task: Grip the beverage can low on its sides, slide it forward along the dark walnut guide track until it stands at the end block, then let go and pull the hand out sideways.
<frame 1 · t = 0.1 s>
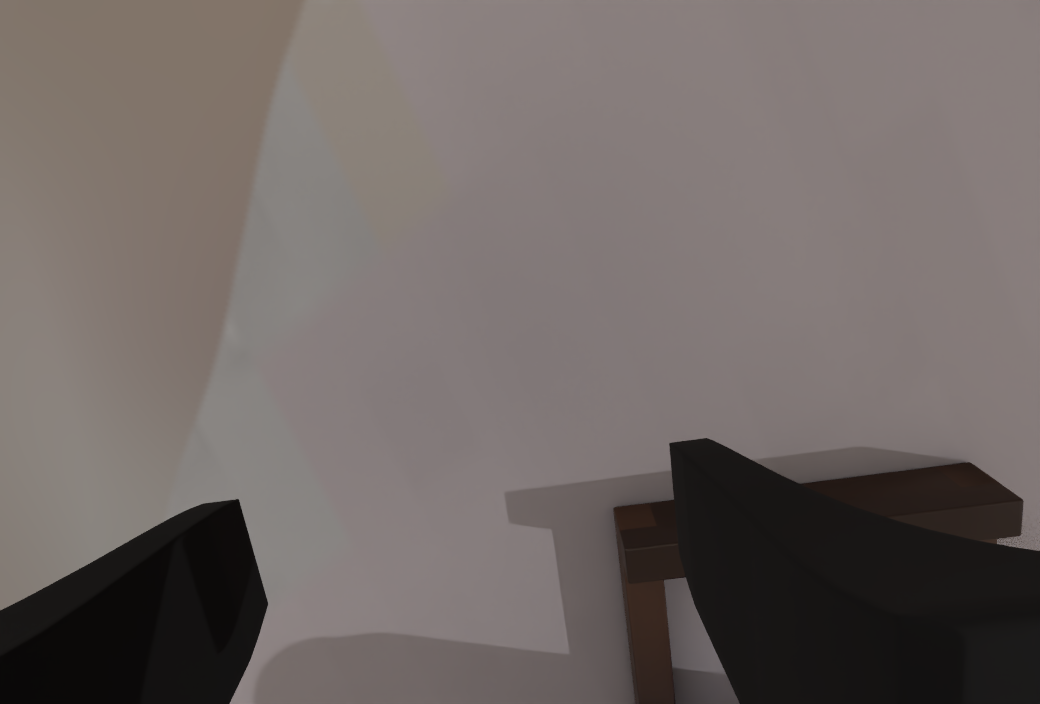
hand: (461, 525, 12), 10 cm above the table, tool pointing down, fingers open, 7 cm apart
can track: (796, 678, 25), on the table
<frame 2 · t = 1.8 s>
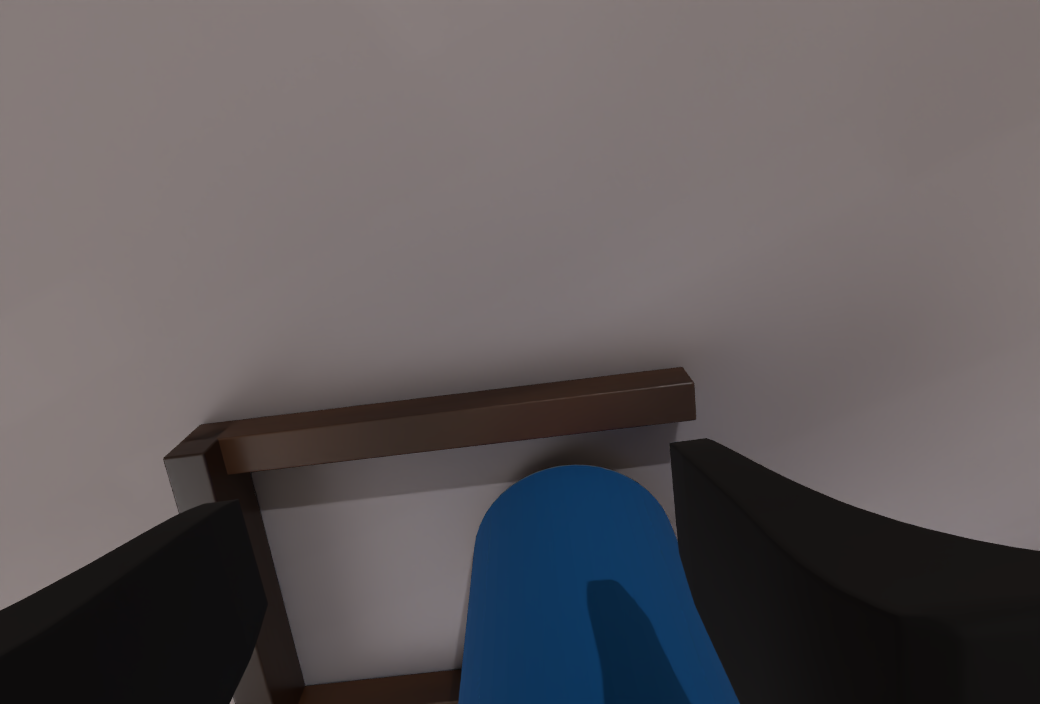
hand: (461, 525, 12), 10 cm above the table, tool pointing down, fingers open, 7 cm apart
beverage can: (572, 539, 24), on the table
can track: (465, 554, 24), on the table
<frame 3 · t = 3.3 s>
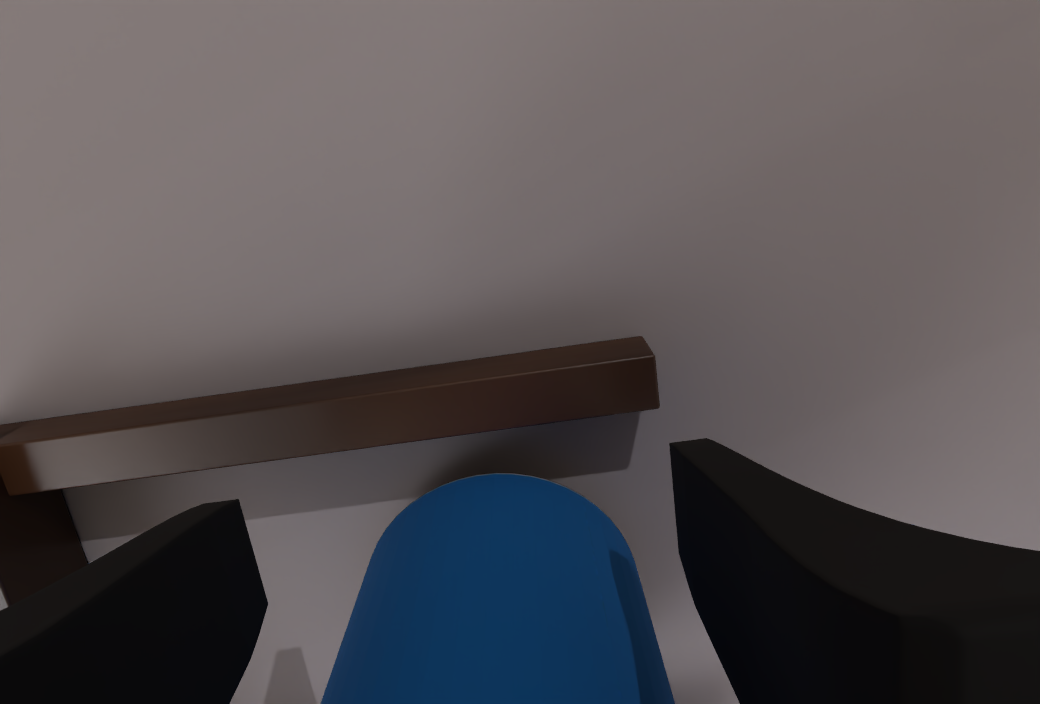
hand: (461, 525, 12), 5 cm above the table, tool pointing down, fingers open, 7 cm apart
beverage can: (503, 572, 18), on the table
can track: (360, 595, 18), on the table
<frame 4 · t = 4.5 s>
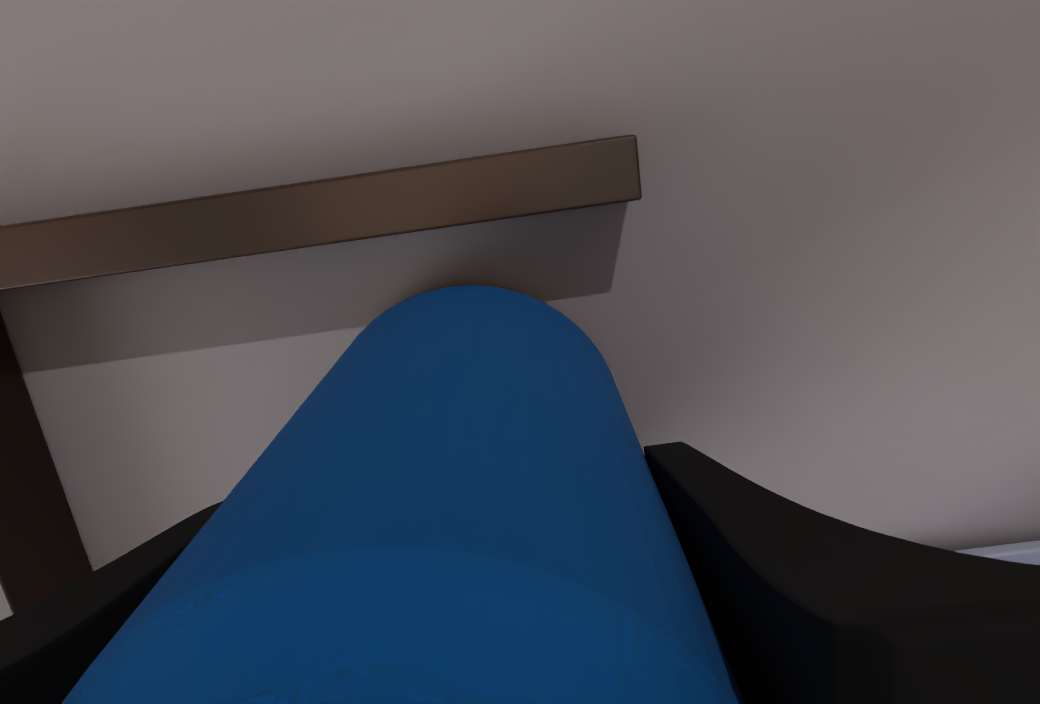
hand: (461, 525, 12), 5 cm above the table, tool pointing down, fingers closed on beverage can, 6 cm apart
beverage can: (476, 412, 17), on the table, touching gripper
can track: (323, 436, 16), on the table
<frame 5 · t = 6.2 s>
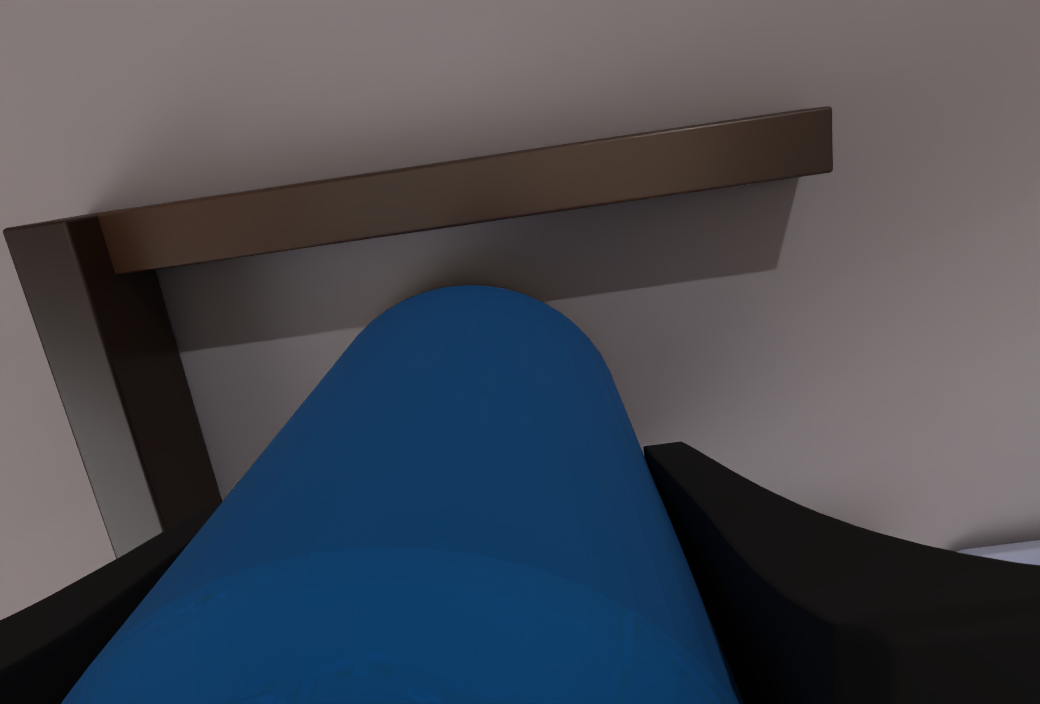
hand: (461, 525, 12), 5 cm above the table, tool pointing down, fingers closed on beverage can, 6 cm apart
beverage can: (476, 412, 17), on the table, touching gripper
can track: (478, 415, 16), on the table
when the fingers open (5 cm above the table, at t = 7.9 s): beverage can stays where it is, on the table.
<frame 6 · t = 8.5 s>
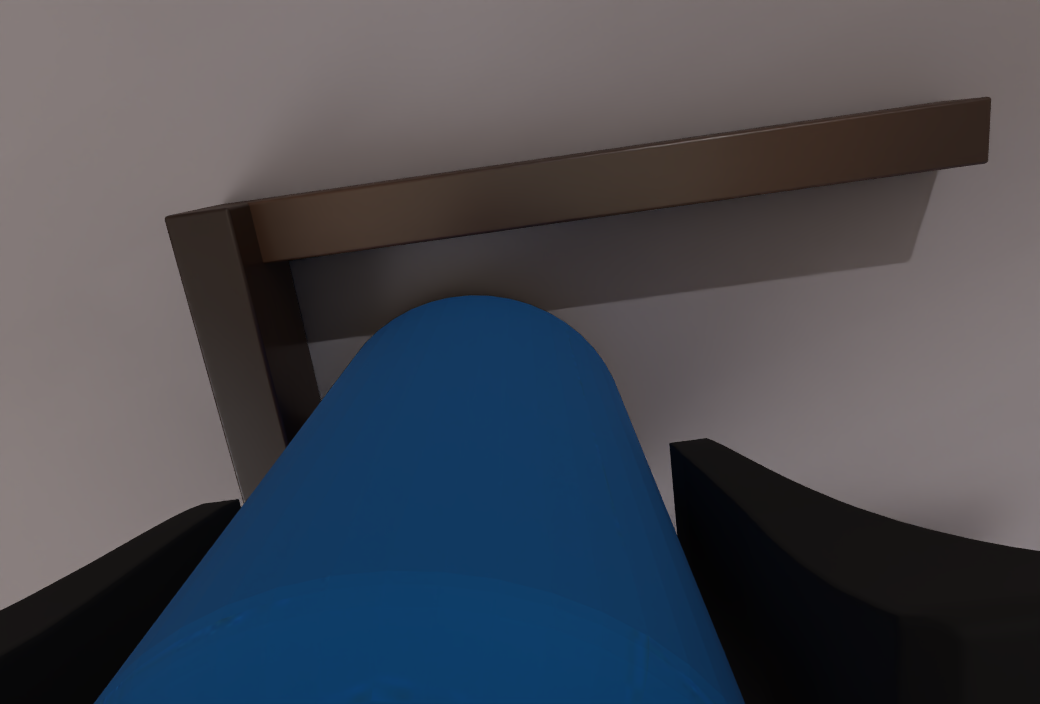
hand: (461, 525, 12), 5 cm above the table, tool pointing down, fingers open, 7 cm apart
beverage can: (481, 421, 17), on the table
can track: (603, 407, 16), on the table
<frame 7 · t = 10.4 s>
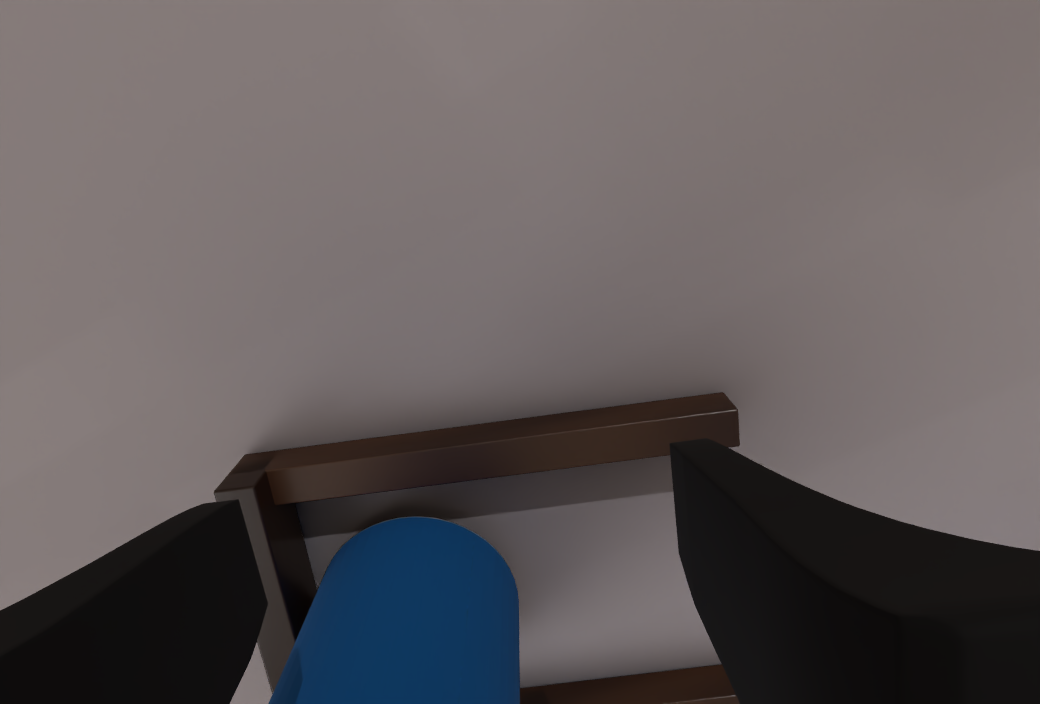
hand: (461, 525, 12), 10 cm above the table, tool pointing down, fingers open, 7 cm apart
beverage can: (423, 585, 24), on the table
can track: (507, 578, 24), on the table
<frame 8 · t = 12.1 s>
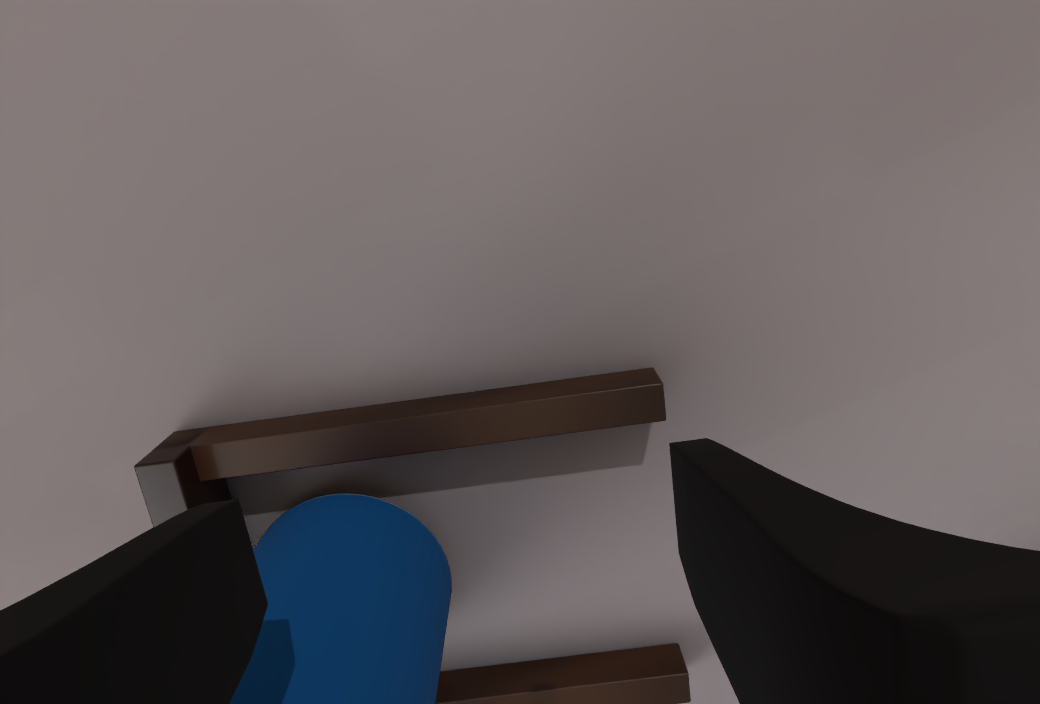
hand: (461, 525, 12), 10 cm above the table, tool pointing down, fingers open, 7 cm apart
beverage can: (358, 565, 24), on the table
can track: (441, 557, 24), on the table
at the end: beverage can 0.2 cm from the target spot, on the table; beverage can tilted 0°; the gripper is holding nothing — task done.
